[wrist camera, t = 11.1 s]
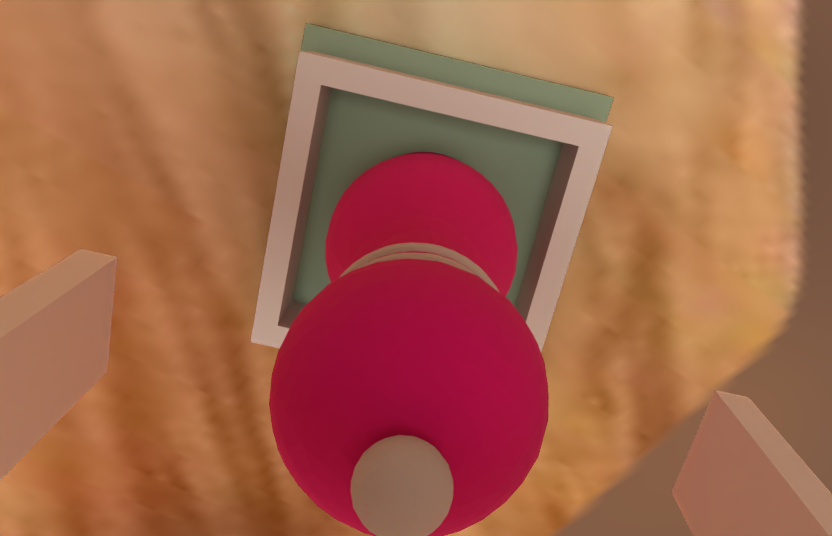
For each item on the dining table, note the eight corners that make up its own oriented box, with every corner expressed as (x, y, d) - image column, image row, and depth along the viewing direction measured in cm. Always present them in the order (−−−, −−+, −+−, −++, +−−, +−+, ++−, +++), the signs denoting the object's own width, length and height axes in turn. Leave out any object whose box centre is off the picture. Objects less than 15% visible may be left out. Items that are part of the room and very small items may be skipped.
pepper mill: (539, 231, 30) (718, 547, 11) (415, 329, 31) (381, 754, 12) (432, 103, 28) (423, 210, 9) (308, 213, 30) (82, 496, 11)
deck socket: (310, 23, 28) (290, 19, 25) (608, 96, 29) (633, 102, 25) (258, 324, 33) (235, 360, 29) (519, 382, 33) (530, 425, 29)
